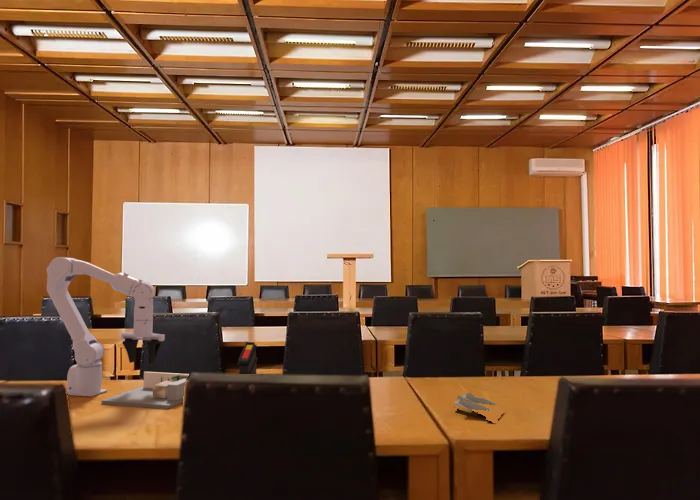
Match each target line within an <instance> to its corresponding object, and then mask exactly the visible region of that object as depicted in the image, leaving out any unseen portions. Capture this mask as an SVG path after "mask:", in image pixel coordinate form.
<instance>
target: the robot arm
mask: <svg viewBox="0 0 700 500" xmlns="http://www.w3.org/2000/svg"><path fill="white" fill-rule="evenodd" d="M46 273H47V280H46V292H47V295H48V297H49V298H50V301H52V303H53V305H54V307H55V309H56V310H57V313H58V315H59V316H60V318H61V321H62V322H63V325H64V326H65V329H66V330H67V332H68V334H69V336H70V338H71V340H72V348H73V349H72V350H73V351H74V360H75V362H76V364H74V365H72V366H70V367H69V369H68V372H67V375H66V378H67V379H66V393H67V392H68V395H67V396H77V397H78V396H79V397H94V396H96V395H99V394H103V393H106V392H108V389H102V383H103V382H102V379H103V376H102V375H103V361H102V360H101V359H102V358H103V357H104V356H105V347H104V345H103V344H102V343H101V342H99V341H98V340H97V339H96V337H95V336H94V335H93V334H92V333H91V332H90V331H89V329H88V327H87V325H86V323H85V321H84V319H83V317H82V314H81V313H80V311H79V310H78V308H77V306H76V304H75V302H74V300H73V297H72V296H71V295H70V292H69V290H68V288H69V286H70V284H71V283H72V281H73V279H74V278H75V277H76V276H77V275H87V276H90V277H92V278H94V279H97V280H100V281H103V282H106V283H108V284H110V286H111V289H113V290H115V291H116V292H119V293H122V294H124V295H127V296H129V297H132V296H133V298H134V305H133V307H134V309H133V332H122V333H121V335H120V340H122V345H123V347H124V348H125V351H126V353H127V357H128V362H129V363H135V362H136V359H137V347H138V343H139V341H146V345H147V349H148V364H150V365H151V364H154V363H156V362H155V361H156V358H157V354H158V353H159V350H160V348H161V346H162V345H163V342H164V341H166V340H165V339H166V337H165V336H166V334H161V333H155V332H153V329H154V328H153V324H154V297H155V295H156V290H155V289H156V288H155V287H154V286H153V285H152V284H151V283H150V282H143V281H144V280H143V279H141V278H139V279H137V278H135V277H132V276H130V275H129V273H127V272H117V273H112V272H110V271H107V270H106V269H103V268H101V267H99V266H97V265H95V264H92V263H91V262H88V261H85V260H80V259H77V258H75V257H64V256H57V257H54V258H53V259H51V261H50V262H49V264H48V265H47V267H46Z"/></svg>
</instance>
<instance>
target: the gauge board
mask: <svg viewBox="0 0 700 500" xmlns="http://www.w3.org/2000/svg"><path fill="white" fill-rule="evenodd" d="M189 374H190V373H176V372H175V373H174V372H161V371H160V372H159V371H158V372H157V371H144V372H143V385H142V386H140V387H136V388H133V389H131V390H127V391H125V392H122V393H119V394H116V395H114V396H110V397H108V398H105V399H102V400H101V405H108V406H109V405H110V406H111V405H112V406H122V407H123V406H127V407H137V408H149V409H151V408H152V409H161V410H162V409H164V410H165V409H166V410H169V409H171V408H174V407H176V406H177V405H180V404H182V403H184V402H183V396H184V386H185V381H186V379H187V378H188V376H189ZM176 375H179V380H178V381H177V378H174V379H171V377H174V376H176ZM164 381H176V382H173V383H170V384H168V392H167V397H166V398H156V397H153V385H156V384H158V383H161V382H164Z"/></svg>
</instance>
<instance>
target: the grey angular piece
mask: <svg viewBox="0 0 700 500" xmlns="http://www.w3.org/2000/svg"><path fill="white" fill-rule="evenodd" d="M456 396H457V397H456V400H455V401H454V403H453V404H454V405H455V406H456V405H458V406H460V407H461V408H463V409H465V410H467V411H469V410H472V409H475V410H484V411H486V410H488V411H490V410H489V408H486V407H484V406H482V405H479V404H478V403H482V404H489V405H495V406H496V403H495V402H494V401H492V400H489V399H487V398H484V397H479V396H475V395H474V394H472V393H471V392H470V391H469V392H466V394H463V395H460V394H457V395H456ZM460 407H459V408H460Z"/></svg>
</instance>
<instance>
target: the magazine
mask: <svg viewBox="0 0 700 500" xmlns="http://www.w3.org/2000/svg"><path fill="white" fill-rule="evenodd" d="M243 346H244V347H243V348H242V351H241V353H240V355H239V358H238V362H237V363H236V366H237V367H238V369H239V372H238V374H257V362H258V357H257V352H256V349H257V347H258V345H257V344H256V343H255V342H254V341H253V342H252V341H247V342H245V344H244V345H243Z"/></svg>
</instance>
